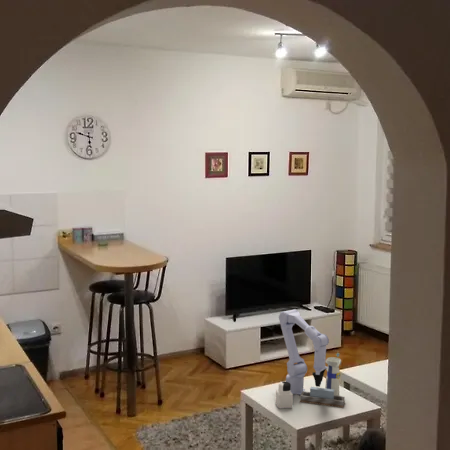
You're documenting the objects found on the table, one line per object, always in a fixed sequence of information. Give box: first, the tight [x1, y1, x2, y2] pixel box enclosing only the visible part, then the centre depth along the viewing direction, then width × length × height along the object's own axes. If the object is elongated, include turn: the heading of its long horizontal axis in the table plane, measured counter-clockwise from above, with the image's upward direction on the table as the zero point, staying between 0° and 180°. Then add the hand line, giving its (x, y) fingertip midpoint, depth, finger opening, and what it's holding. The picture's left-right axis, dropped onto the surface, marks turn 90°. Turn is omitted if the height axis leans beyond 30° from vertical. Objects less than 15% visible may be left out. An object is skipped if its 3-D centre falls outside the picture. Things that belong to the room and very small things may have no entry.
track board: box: [299, 391, 346, 409], centre depth 315 cm, size 22×8×3 cm, turn 74°
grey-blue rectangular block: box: [309, 386, 334, 399], centre depth 315 cm, size 12×3×6 cm, turn 74°
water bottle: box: [324, 351, 342, 396], centre depth 324 cm, size 8×9×25 cm
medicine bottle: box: [275, 380, 294, 409], centre depth 309 cm, size 7×7×12 cm
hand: (318, 383), depth 313 cm, fingers open, 7 cm apart
